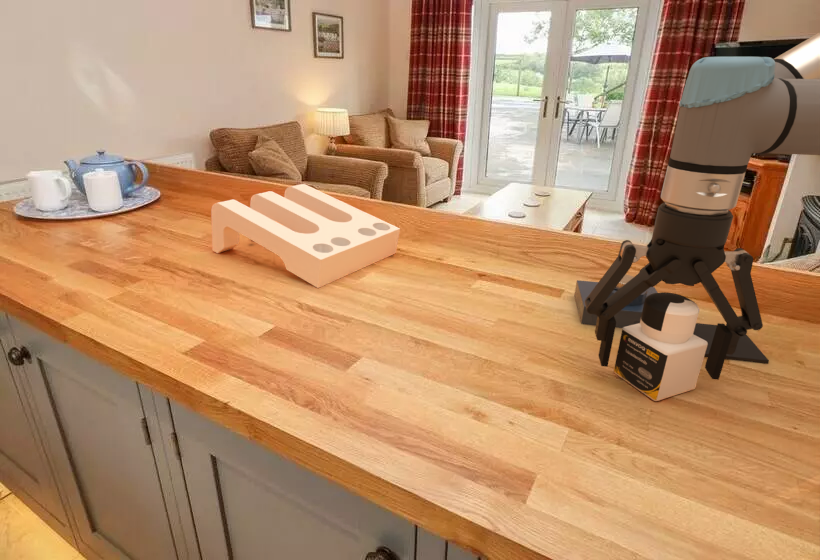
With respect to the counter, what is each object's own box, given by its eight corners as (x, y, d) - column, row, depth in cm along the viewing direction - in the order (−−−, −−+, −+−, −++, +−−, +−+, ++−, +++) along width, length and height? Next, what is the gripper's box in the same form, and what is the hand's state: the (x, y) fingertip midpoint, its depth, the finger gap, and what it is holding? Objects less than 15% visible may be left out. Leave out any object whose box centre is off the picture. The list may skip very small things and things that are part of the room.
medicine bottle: (612, 372, 66) (628, 292, 62) (650, 361, 69) (669, 283, 64) (655, 403, 60) (677, 316, 56) (695, 389, 63) (720, 306, 58)
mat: (739, 330, 78) (740, 327, 78) (768, 364, 69) (769, 360, 69) (671, 323, 80) (672, 320, 79) (691, 355, 71) (692, 352, 70)
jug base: (650, 303, 87) (656, 277, 85) (667, 333, 77) (674, 304, 75) (574, 296, 89) (578, 270, 87) (581, 324, 79) (585, 296, 77)
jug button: (633, 284, 83) (635, 274, 82) (639, 295, 79) (641, 285, 78) (606, 282, 83) (608, 272, 83) (610, 292, 79) (612, 282, 79)
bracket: (320, 259, 88) (210, 199, 102) (315, 314, 94) (212, 250, 108) (400, 228, 106) (297, 180, 120) (391, 276, 112) (294, 225, 126)
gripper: (586, 207, 54) (560, 371, 63) (839, 223, 50) (775, 396, 58) (578, 192, 61) (556, 341, 69) (801, 205, 57) (748, 363, 65)
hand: (656, 367), depth 64 cm, fingers open, 12 cm apart
